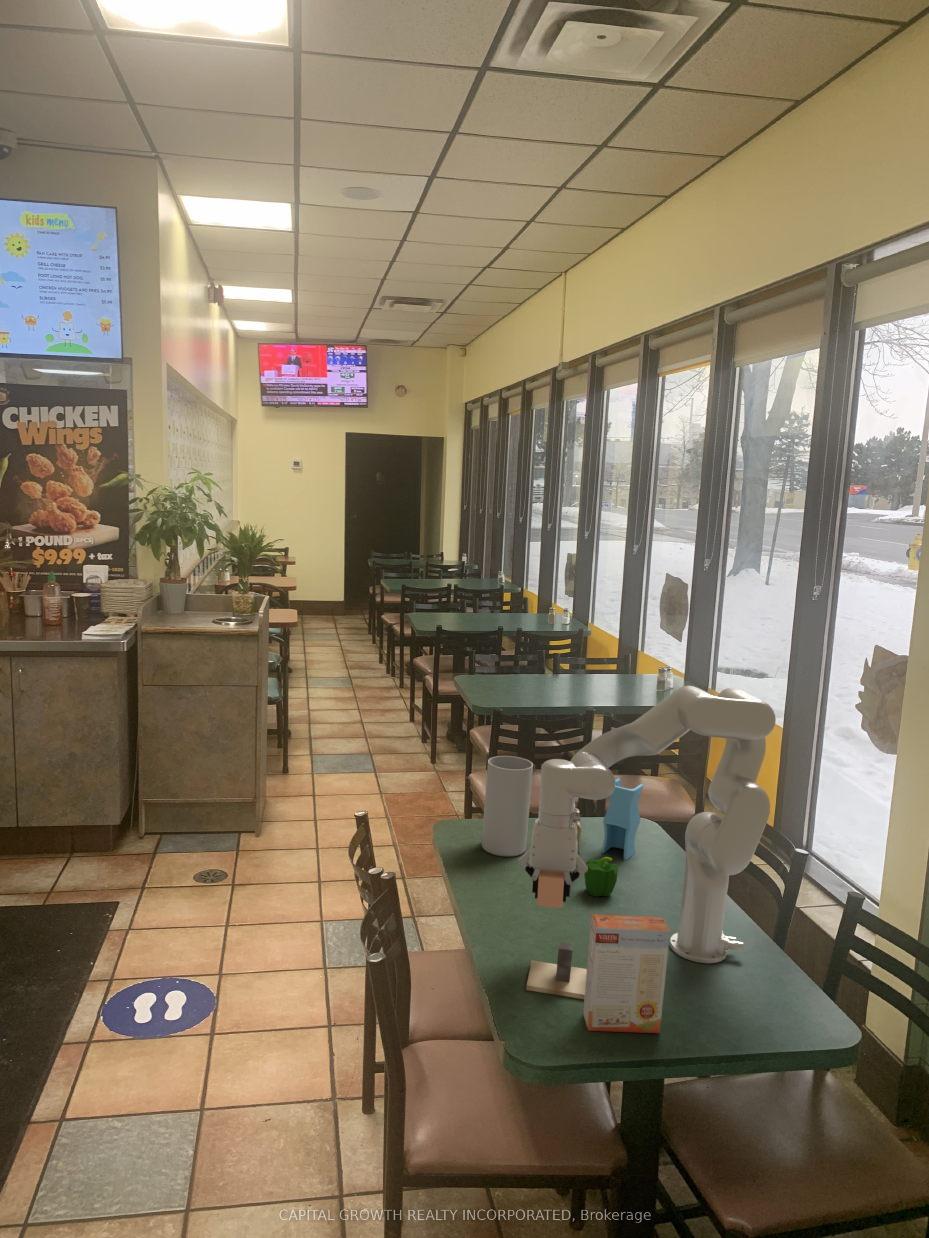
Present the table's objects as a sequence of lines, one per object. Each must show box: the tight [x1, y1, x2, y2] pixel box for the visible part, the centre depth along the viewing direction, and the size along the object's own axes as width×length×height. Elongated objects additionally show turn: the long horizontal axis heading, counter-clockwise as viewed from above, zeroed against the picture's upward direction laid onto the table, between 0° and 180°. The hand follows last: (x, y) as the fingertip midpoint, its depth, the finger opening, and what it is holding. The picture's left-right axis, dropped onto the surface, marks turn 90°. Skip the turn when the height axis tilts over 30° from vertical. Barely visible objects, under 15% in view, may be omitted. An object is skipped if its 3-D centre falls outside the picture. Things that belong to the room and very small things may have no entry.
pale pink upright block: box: [536, 869, 565, 909], centre depth 193 cm, size 5×5×7 cm
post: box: [525, 941, 587, 1000], centre depth 183 cm, size 14×10×8 cm
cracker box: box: [582, 913, 671, 1034], centre depth 169 cm, size 14×6×21 cm, turn 92°
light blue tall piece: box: [600, 777, 644, 861], centre depth 253 cm, size 8×8×20 cm
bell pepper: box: [583, 856, 619, 897], centre depth 226 cm, size 8×8×10 cm
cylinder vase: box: [481, 755, 534, 857], centre depth 249 cm, size 12×12×25 cm
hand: (550, 896), depth 194 cm, fingers closed on pale pink upright block, 5 cm apart
